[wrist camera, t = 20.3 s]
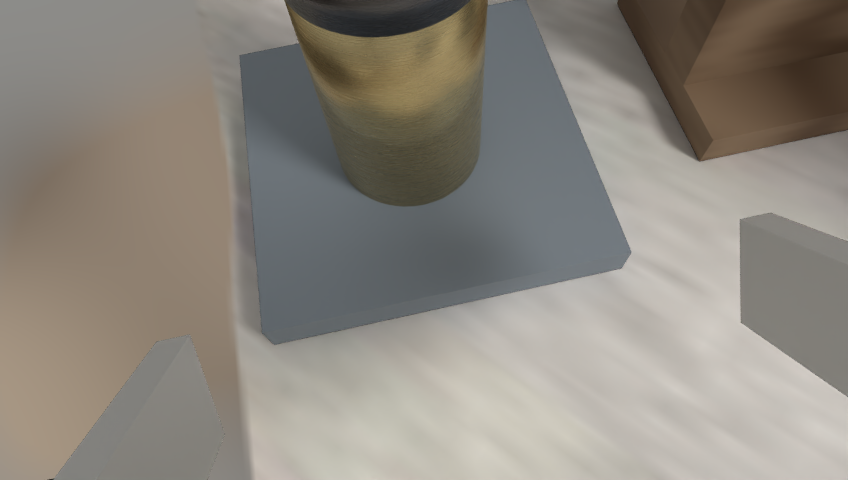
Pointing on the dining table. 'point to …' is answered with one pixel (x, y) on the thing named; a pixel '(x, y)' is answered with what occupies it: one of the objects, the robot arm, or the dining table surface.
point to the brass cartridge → (398, 90)
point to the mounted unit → (747, 68)
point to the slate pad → (430, 223)
